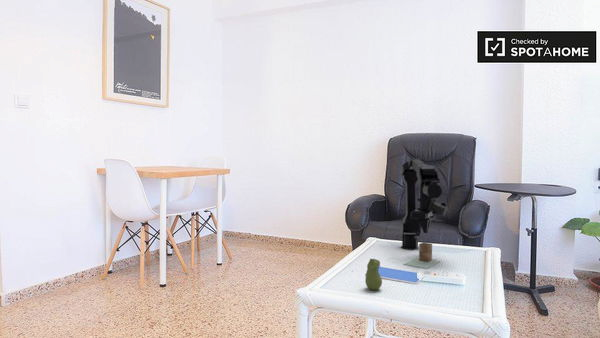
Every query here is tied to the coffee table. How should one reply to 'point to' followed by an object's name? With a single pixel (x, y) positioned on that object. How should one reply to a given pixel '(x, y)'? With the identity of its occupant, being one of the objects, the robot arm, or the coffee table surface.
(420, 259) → the walnut block
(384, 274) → the tablet computer
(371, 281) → the pear
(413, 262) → the pale green flat panel
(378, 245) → the coffee table surface
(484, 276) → the coffee table surface
